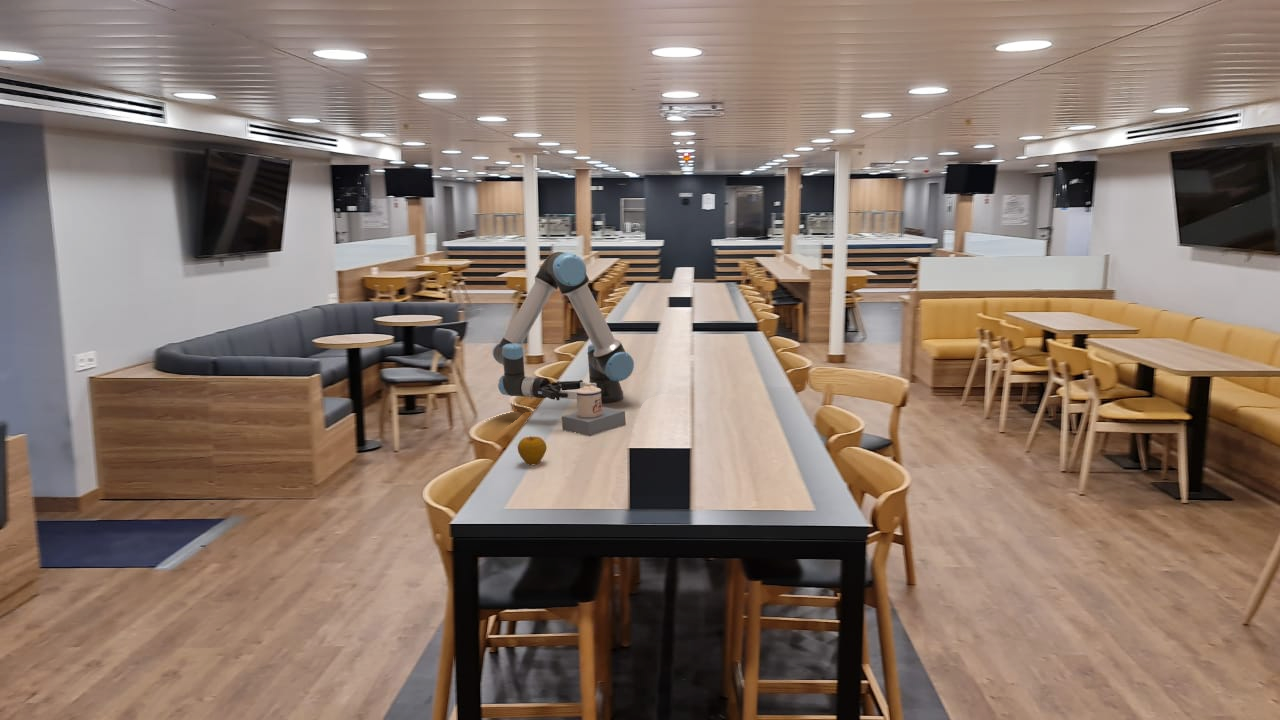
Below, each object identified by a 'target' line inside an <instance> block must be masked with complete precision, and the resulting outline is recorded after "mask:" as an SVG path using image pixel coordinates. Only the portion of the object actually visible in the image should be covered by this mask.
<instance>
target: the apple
mask: <svg viewBox="0 0 1280 720" xmlns="http://www.w3.org/2000/svg"><path fill="white" fill-rule="evenodd" d="M547 448H548V447H547V444H546V442H545V440H544V439H543V438H541V437H539V436H531V435H530V436H526V437H523V438H521V439H520V440H519V442H518V444H517V452H518V454H519V456H520V458H521V459H522V460H523V461H524V463H526V464H527V465H528V464H529V466H533V465H532V464H536V465H538V464H540V463H541V461H542V459H543V458H544V456H545V453H546V452H547ZM537 463H538V464H537Z"/></svg>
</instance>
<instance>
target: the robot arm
mask: <svg viewBox="0 0 1280 720" xmlns="http://www.w3.org/2000/svg"><path fill="white" fill-rule="evenodd" d="M589 283H590V279H589V276H588V275H587V266H586V263H585V261H584V260H583V259H582V258H581V257H580V256H578V255H576V253H575V254H574V253H572V252H561V251H557V252H555V251H554V252H553V253H551V254H550V255H548V256H547V257H546V258H545V259H544V261H543V263H542V264H541V266H540V268H539V270H538V271H537V273H536V275H535V276H534V283H533V285H532V287H531V289H530V290H529V292H528V294H527V296H526V297H525V299H524V300H523V302H522V305H521V306H520V308H519V310H518V311H517V313H516V314H515V316H514V318H513V320H512V322H511V324H510V326H509V327H508V329H507V331H506V332H505V334H504V336H503V337H502V339H501V341H500V342H499V343H497V344H496V345H495V346H494V347H493V349H492V357H493V359H494V360H495V361H496V362H497V363H498V364H501V365H502V366H503V375H502V376H500V378H499V380H498V382H499V383H497V384H498V385H497V387H498V390H499V392H500V393H501V394H502V395H503V396H504V395H505V396H510V397H524V398H530V399H531V400H532V399H533V398H537V399H547V398H548V399H550V400H553V401H554V400H556V401H560V400H561V399H566V400H577V390H578V389H580V388H582V387H583V386H586V385H585V384H586V383H587V382H584V380H582V379H579V380H568V381H567V380H565V381H560V380H557V381H554V382H553V381H552V382H551V381H550V380H549V379H548V377H540V376H539V377H536V376H526V375H525V374H526V373H525V362H524V361H525V359H524V349H523V345H522V344H523V343H524V341H525V340H526V338H527V336H528V335H529V333H530V331H531V329H532V328H533V327H534V324H535V322H536V321H537V319H538V317H539V316H540V314H541V312H542V310H543V309H544V307H545V306H546V304H547V302H548V300H549V298H550V296H551V294H552V293H553V292H556V291H557V290H558V289H559V291H560V293H561V294H562V295H563V296H567V298H568V299H569V302H570V304H571V306H572V308H573V309H574V311H575V313H576V315H577V317H578V319H579V321H580V323H581V325H582V327H583V329H584V331H585V333H586V334H587V336H588V339H589V340H590V343H591V344H589V345H588V346H587V353H586V354H587V359H588V361H587V362H588V376H589V378H588V379H589V381H588V383H591V385H592V386H595V387H597V388H600V389H601V391H602V392H601V402H602V403H603V402H608V403H614V401H615V402H619V401H621V400H623V399H624V391H623V390H622V386H621V384H620V382H622V381H624V380H626V379H628V378H629V377H631V375H632V373H633V371H634V368H635V363H634V359H633V357H632V355H630V354H629V353H628V352H627V351H626V350H625V348H624V346H623V345H622V342H621V340H619V339H616V338H615V337H614V335H613V333H612V331H611V329H610V327H609V325H608V324H607V321H606V319H605V317H604V315H603V313H602V311H601V310H600V307H599V305H598V303H597V301H596V299H595V298H594V296H593V293H592V292H591V290H590V287H589V286H588V285H589ZM573 390H574V391H573ZM618 400H619V401H618ZM603 404H604V403H603Z"/></svg>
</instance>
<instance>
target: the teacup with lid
mask: <svg viewBox="0 0 1280 720" xmlns="http://www.w3.org/2000/svg"><path fill="white" fill-rule="evenodd" d="M585 385H586V386H583V387H582V388H580V389H576V391H577V399H576V404H577V412H578V416H579V417H582V418H594V417H598V416H600V415H602V407H603V406H602V405H603V404H602V402H601V392H602V391H601V389H600V388H597V387H595V386H592V385H591V383H589V382H586V384H585Z"/></svg>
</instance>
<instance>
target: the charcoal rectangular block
mask: <svg viewBox="0 0 1280 720" xmlns="http://www.w3.org/2000/svg"><path fill="white" fill-rule="evenodd" d="M561 425H562V431H565V430H566V431H565V432H569V431H571V433H574V432H576V433H575V434H578V433H580V434H579V435H583V436H587V435H588V437H591V436H593V435H597V434H600V433H603V432H606V431H609V430H612V429H616V428H618V427H622V426H625V425H626V410H623V409H616V408H612V407H605V406H602V415H600V416H598V417H594V418H582V417H579V416H578V411H576V412H572V413H569V414H565V415H563V416H561Z"/></svg>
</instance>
